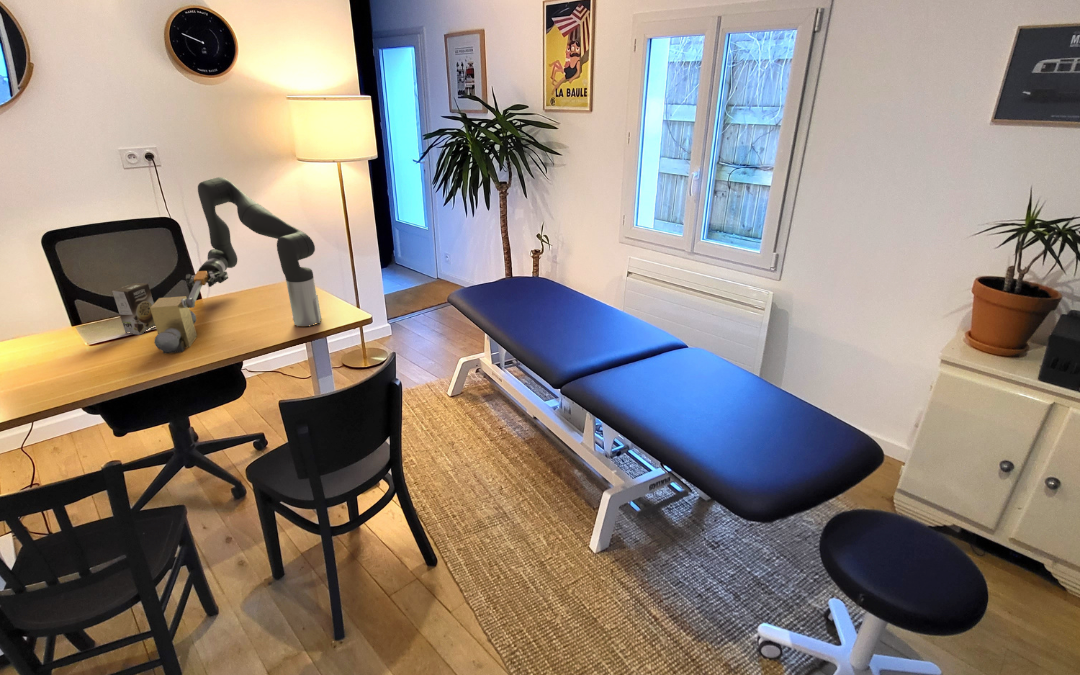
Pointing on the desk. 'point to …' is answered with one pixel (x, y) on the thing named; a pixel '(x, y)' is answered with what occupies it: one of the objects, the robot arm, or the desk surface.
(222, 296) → the desk surface
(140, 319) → the coffee box
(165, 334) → the block
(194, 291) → the lever
